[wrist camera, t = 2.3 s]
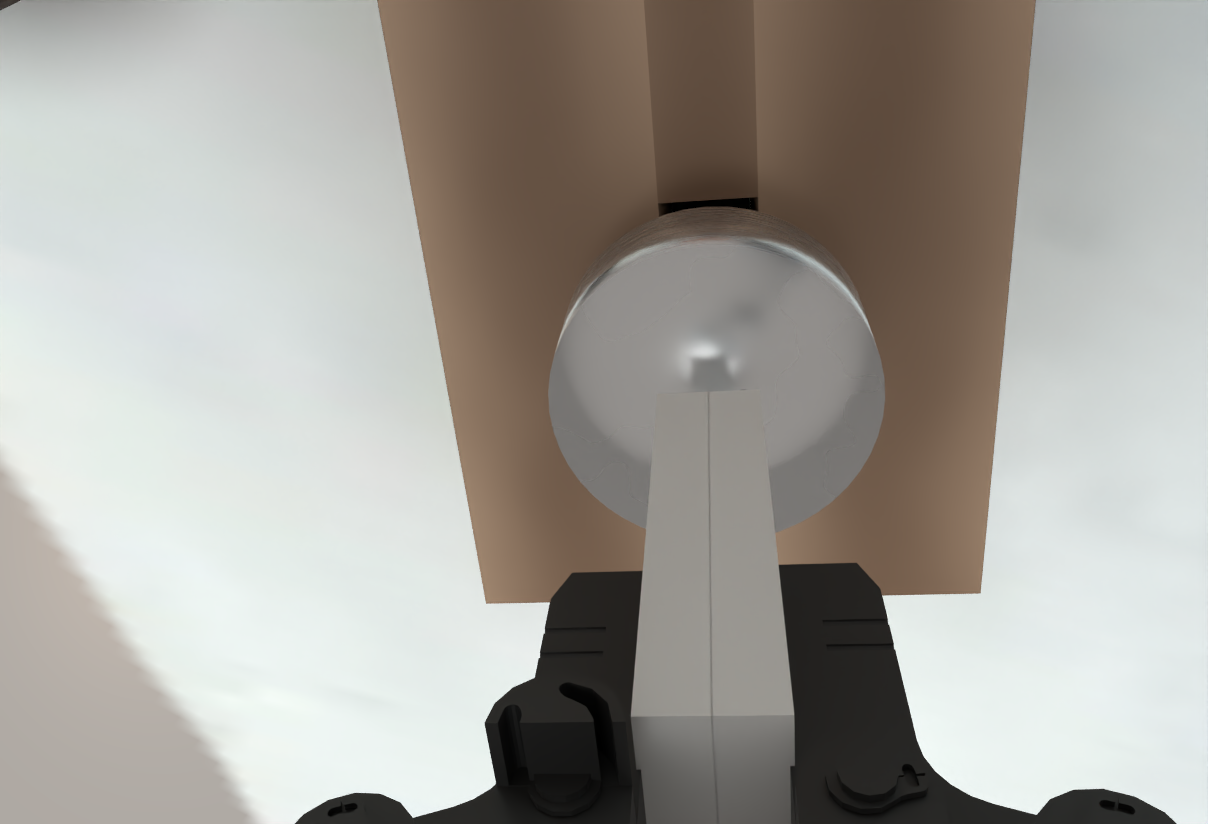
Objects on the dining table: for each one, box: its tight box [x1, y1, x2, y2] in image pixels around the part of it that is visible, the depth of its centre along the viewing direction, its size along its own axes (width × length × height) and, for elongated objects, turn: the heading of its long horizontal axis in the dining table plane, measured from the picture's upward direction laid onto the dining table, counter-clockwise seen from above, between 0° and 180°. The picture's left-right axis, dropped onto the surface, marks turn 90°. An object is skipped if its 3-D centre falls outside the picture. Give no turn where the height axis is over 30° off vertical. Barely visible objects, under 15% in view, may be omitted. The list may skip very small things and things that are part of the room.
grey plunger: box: [548, 207, 885, 533], centre depth 21 cm, size 6×6×8 cm
